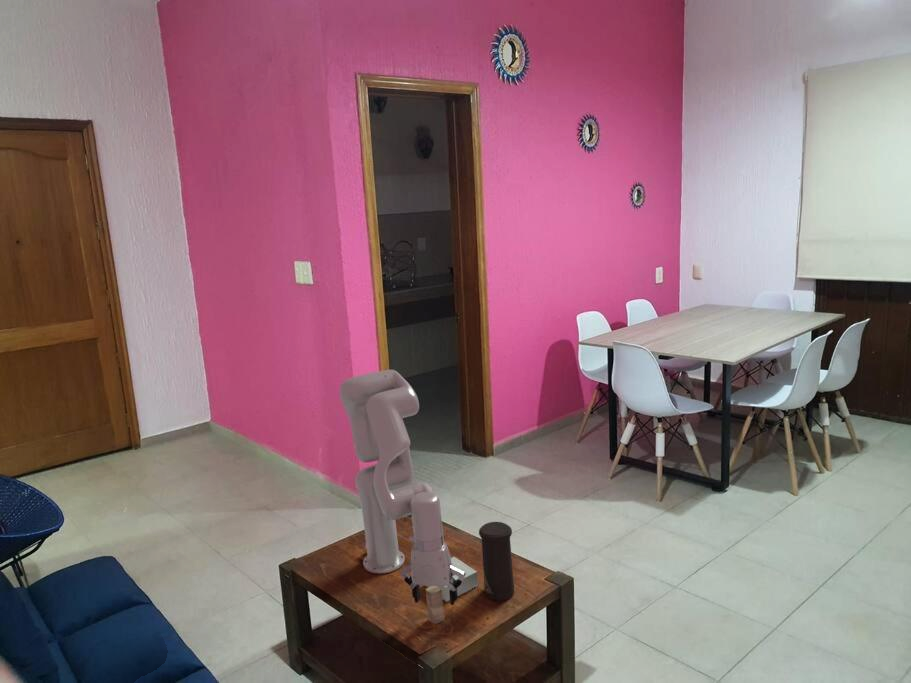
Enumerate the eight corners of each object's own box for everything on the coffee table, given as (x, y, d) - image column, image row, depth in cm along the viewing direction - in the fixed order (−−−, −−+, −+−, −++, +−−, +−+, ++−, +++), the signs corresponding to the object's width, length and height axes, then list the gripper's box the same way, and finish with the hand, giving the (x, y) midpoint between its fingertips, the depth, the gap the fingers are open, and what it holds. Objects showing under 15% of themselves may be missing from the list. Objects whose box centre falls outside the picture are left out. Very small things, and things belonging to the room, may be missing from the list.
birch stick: (428, 619, 180) (425, 589, 178) (437, 614, 182) (434, 584, 180) (435, 624, 178) (431, 594, 176) (444, 619, 179) (441, 589, 177)
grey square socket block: (424, 584, 196) (423, 570, 195) (455, 570, 202) (454, 556, 201) (446, 601, 187) (445, 587, 186) (478, 585, 193) (477, 571, 192)
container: (495, 579, 196) (491, 516, 191) (521, 589, 190) (517, 524, 185) (477, 595, 189) (472, 529, 185) (503, 605, 183) (499, 538, 179)
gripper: (392, 547, 173) (399, 607, 177) (458, 549, 169) (464, 611, 172) (401, 532, 180) (408, 590, 184) (465, 534, 176) (470, 594, 179)
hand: (435, 600), depth 178 cm, fingers open, 9 cm apart
